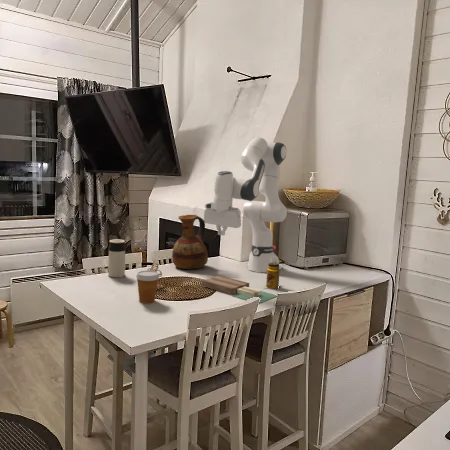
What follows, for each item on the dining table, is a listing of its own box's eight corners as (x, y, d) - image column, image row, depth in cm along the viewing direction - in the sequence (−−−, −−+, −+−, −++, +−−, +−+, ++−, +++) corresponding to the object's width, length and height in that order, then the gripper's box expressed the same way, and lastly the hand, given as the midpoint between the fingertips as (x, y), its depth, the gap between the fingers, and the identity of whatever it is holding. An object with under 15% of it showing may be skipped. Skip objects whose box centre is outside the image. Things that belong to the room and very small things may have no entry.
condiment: (263, 288, 204) (265, 264, 203) (268, 284, 212) (269, 260, 211) (278, 290, 202) (279, 266, 200) (282, 286, 210) (284, 262, 208)
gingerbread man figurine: (159, 286, 198) (160, 261, 197) (164, 288, 196) (165, 262, 194) (143, 289, 192) (144, 263, 190) (149, 291, 189) (149, 265, 188)
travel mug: (119, 278, 207) (119, 242, 205) (105, 276, 210) (105, 241, 207) (127, 275, 215) (128, 240, 212) (114, 273, 217) (114, 238, 215)
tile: (244, 290, 198) (244, 286, 197) (260, 294, 192) (260, 290, 192) (236, 293, 193) (237, 288, 193) (252, 297, 187) (253, 293, 187)
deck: (219, 281, 212) (220, 275, 212) (248, 289, 201) (249, 283, 201) (201, 286, 201) (201, 280, 201) (231, 295, 190) (231, 288, 190)
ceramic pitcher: (165, 265, 239) (166, 213, 235) (192, 261, 252) (195, 212, 248) (186, 273, 225) (188, 217, 220) (214, 268, 238) (217, 216, 234)
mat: (252, 289, 201) (252, 288, 201) (277, 296, 193) (278, 295, 193) (232, 296, 189) (232, 295, 189) (258, 303, 180) (258, 303, 180)
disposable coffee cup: (138, 305, 170) (138, 276, 168) (133, 298, 179) (134, 270, 177) (161, 303, 174) (162, 275, 172) (155, 296, 182) (156, 269, 181)
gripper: (244, 207, 195) (242, 237, 196) (210, 203, 207) (209, 231, 209) (236, 208, 190) (234, 238, 192) (202, 204, 202) (201, 232, 204)
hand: (221, 235), depth 200 cm, fingers closed
